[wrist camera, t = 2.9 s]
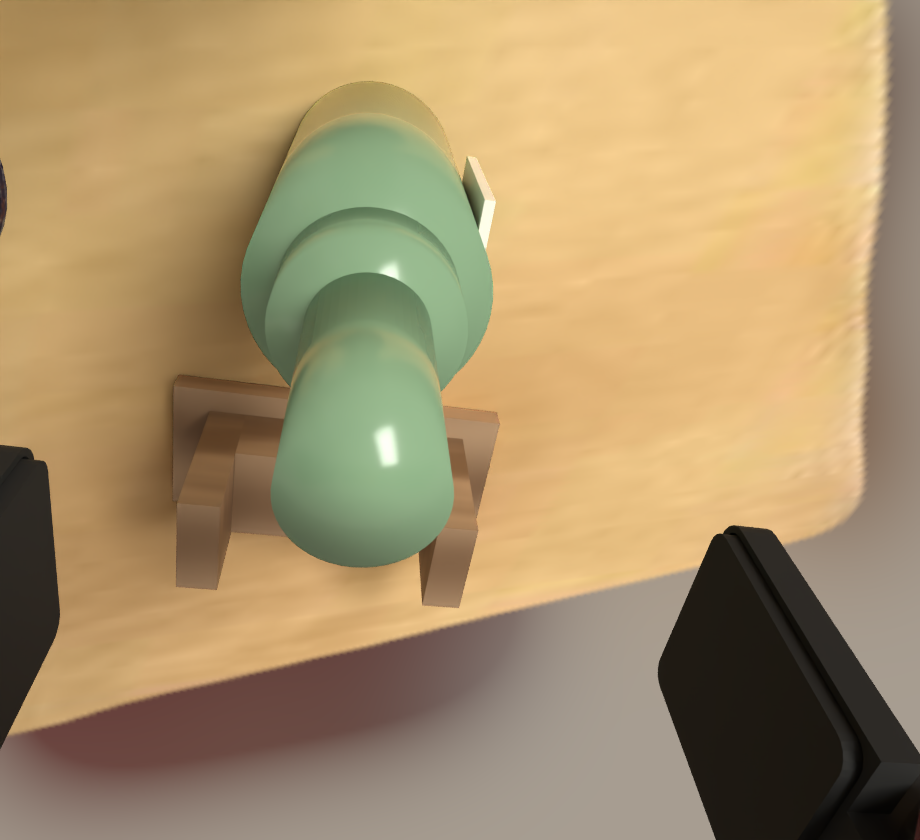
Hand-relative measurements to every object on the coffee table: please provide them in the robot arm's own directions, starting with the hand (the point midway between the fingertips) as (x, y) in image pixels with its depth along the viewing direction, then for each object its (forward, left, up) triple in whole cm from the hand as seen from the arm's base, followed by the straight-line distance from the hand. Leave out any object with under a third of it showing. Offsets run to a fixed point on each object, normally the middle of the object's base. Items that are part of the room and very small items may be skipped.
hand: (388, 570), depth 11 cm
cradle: (+13, 0, -22) cm, 26 cm away
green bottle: (0, 0, -22) cm, 22 cm away
